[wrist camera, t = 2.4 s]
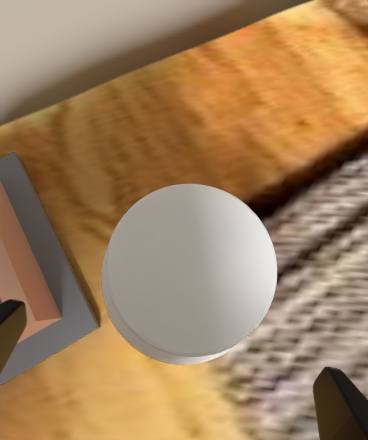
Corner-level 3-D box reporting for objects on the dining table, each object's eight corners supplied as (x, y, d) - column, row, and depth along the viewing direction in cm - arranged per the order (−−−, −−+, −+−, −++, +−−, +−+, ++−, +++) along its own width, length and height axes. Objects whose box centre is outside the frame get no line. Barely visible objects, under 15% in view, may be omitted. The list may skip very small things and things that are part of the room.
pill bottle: (217, 347, 17) (306, 414, 7) (117, 332, 17) (43, 377, 6) (227, 248, 19) (308, 176, 8) (137, 234, 19) (104, 143, 8)
